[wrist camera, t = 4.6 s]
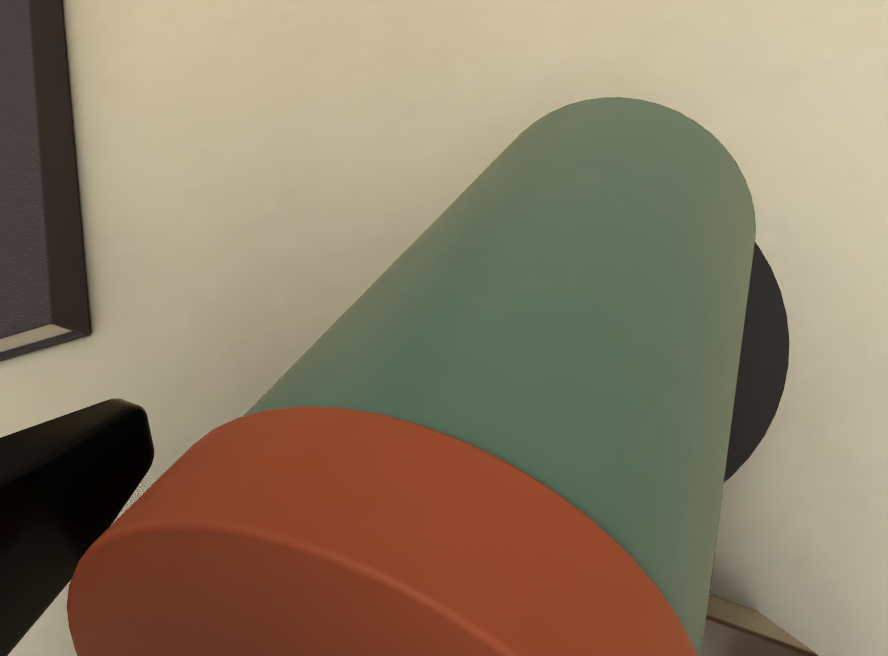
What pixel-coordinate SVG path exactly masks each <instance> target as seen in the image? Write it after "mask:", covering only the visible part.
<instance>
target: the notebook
mask: <svg viewBox="0 0 888 656" xmlns="http://www.w3.org/2000/svg"><path fill="white" fill-rule="evenodd" d="M89 334H90V330H89V318H88V306H87V295H86V283H85V271H84V260H83V248H82V236H81V225H80V213H79V201H78V190H77V178H76V166H75V155H74V143H73V131H72V120H71V108H70V96H69V85H68V73H67V61H66V50H65V38H64V26H63V15H62V3H61V0H0V361H1V360H5V359H8V358H12V357H15V356H19V355H22V354H26V353H29V352H32V351H36V350H39V349H43V348H46V347H50V346H53V345H56V344H60V343H63V342H67V341H70V340H74V339H77V338H81V337H84V336H87V335H89Z"/></svg>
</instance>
